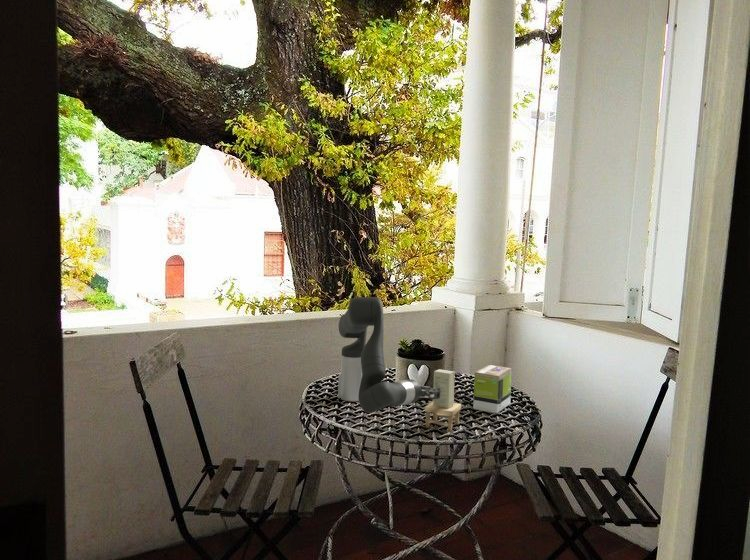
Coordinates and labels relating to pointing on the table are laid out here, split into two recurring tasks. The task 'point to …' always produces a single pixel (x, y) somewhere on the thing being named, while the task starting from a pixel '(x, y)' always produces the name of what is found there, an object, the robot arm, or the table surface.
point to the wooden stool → (442, 414)
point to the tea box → (492, 388)
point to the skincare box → (444, 388)
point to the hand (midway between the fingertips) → (427, 387)
